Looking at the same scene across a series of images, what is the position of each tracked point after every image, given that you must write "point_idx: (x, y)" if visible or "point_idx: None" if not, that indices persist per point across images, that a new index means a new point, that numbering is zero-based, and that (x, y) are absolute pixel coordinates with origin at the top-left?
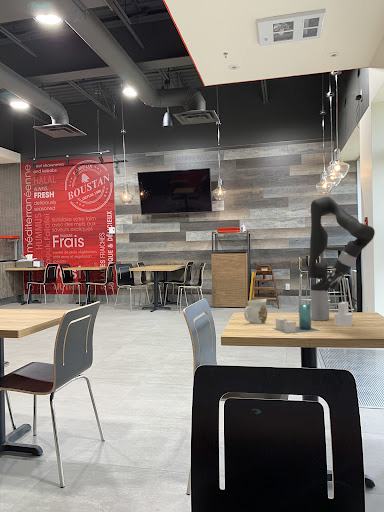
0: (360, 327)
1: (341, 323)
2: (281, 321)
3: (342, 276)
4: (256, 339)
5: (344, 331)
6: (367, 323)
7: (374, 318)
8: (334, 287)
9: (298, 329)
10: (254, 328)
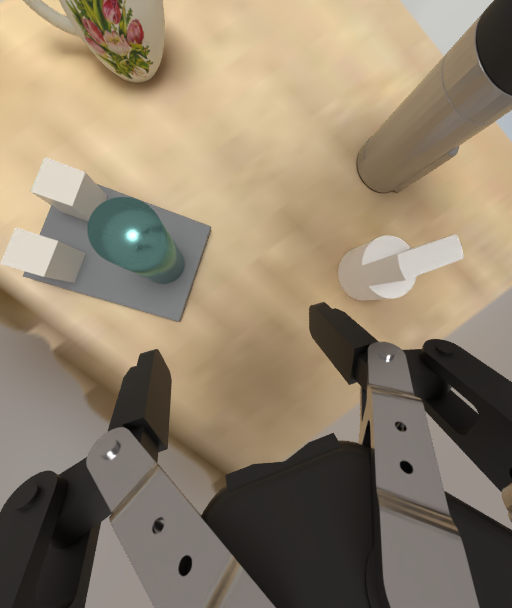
0: None
1: (344, 282)
2: (46, 198)
3: (489, 473)
4: None
5: (271, 345)
6: (427, 310)
7: (504, 275)
8: (321, 347)
9: None
10: (67, 91)
